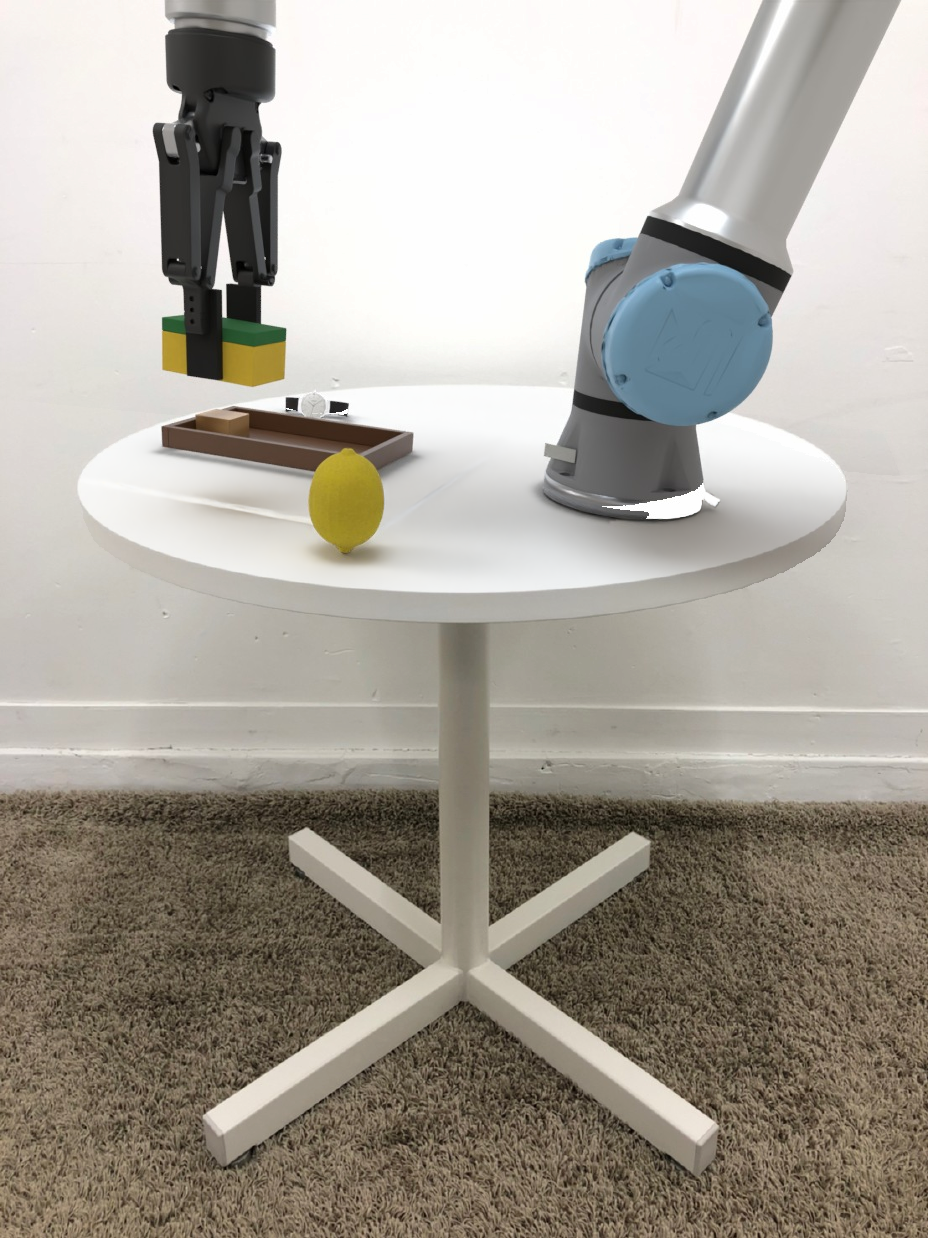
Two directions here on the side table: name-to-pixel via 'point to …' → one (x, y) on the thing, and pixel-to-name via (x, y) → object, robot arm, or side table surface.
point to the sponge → (232, 350)
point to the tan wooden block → (223, 422)
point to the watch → (315, 405)
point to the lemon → (346, 500)
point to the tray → (291, 440)
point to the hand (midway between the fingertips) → (225, 372)
